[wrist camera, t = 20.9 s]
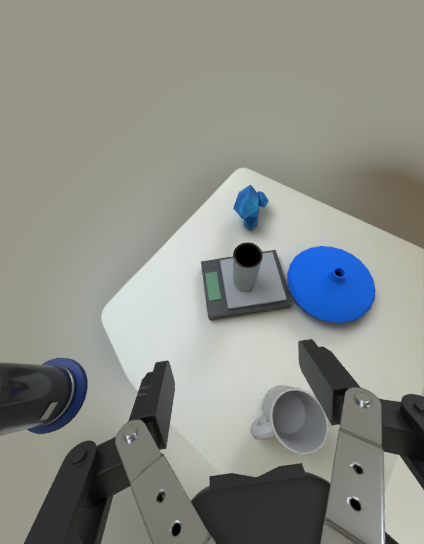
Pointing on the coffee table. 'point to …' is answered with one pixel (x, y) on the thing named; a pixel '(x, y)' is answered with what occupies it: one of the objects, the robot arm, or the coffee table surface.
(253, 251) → the grey cylindrical tube
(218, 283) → the scale
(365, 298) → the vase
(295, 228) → the coffee table surface
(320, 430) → the cup
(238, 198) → the crystal
